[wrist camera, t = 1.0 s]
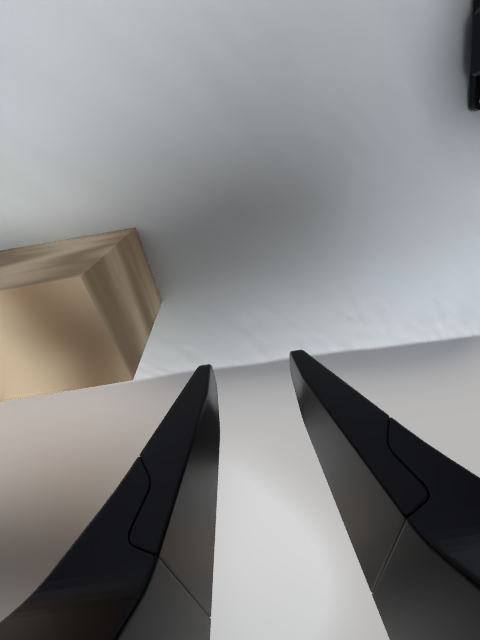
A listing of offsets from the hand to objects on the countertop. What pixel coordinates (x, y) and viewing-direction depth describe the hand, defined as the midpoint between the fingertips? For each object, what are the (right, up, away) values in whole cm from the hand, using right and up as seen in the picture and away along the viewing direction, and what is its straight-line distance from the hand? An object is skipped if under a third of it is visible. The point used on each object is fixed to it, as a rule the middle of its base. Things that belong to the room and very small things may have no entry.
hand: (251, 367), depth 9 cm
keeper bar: (-15, +4, +12) cm, 20 cm away
